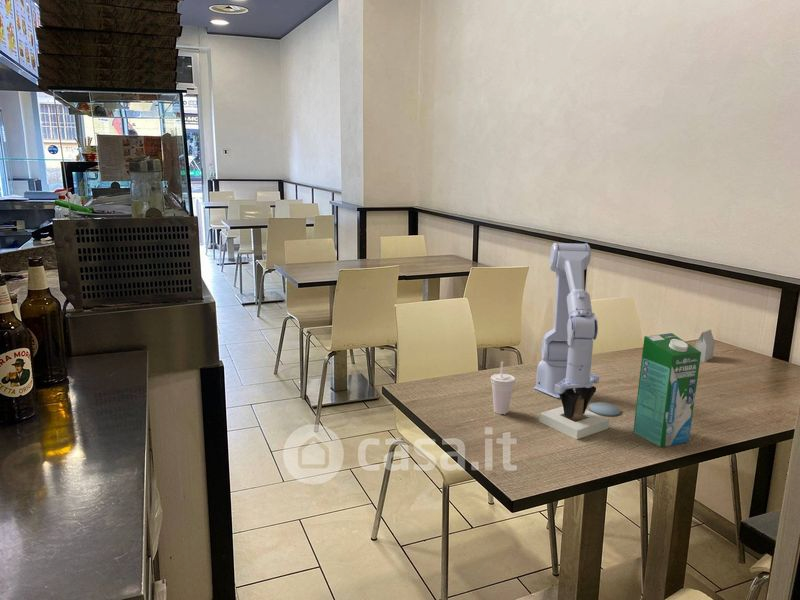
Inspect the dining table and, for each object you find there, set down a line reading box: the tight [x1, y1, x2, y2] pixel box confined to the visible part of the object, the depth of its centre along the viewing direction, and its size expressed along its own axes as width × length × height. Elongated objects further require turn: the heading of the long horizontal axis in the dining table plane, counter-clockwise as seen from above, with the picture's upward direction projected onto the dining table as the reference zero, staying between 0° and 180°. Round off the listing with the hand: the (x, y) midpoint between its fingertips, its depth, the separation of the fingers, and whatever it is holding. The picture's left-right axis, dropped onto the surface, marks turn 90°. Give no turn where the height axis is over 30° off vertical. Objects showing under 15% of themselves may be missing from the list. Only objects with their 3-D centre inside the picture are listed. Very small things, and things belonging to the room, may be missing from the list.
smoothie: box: [490, 361, 516, 415], centre depth 159 cm, size 6×6×14 cm
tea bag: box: [694, 329, 716, 363], centre depth 208 cm, size 4×7×10 cm, turn 131°
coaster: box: [588, 401, 621, 417], centre depth 163 cm, size 8×8×1 cm
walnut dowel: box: [566, 395, 584, 422], centre depth 152 cm, size 4×4×8 cm
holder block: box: [539, 405, 610, 440], centre depth 153 cm, size 12×12×2 cm
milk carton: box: [632, 332, 701, 448], centre depth 145 cm, size 9×9×25 cm
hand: (574, 414), depth 152 cm, fingers closed on walnut dowel, 4 cm apart
